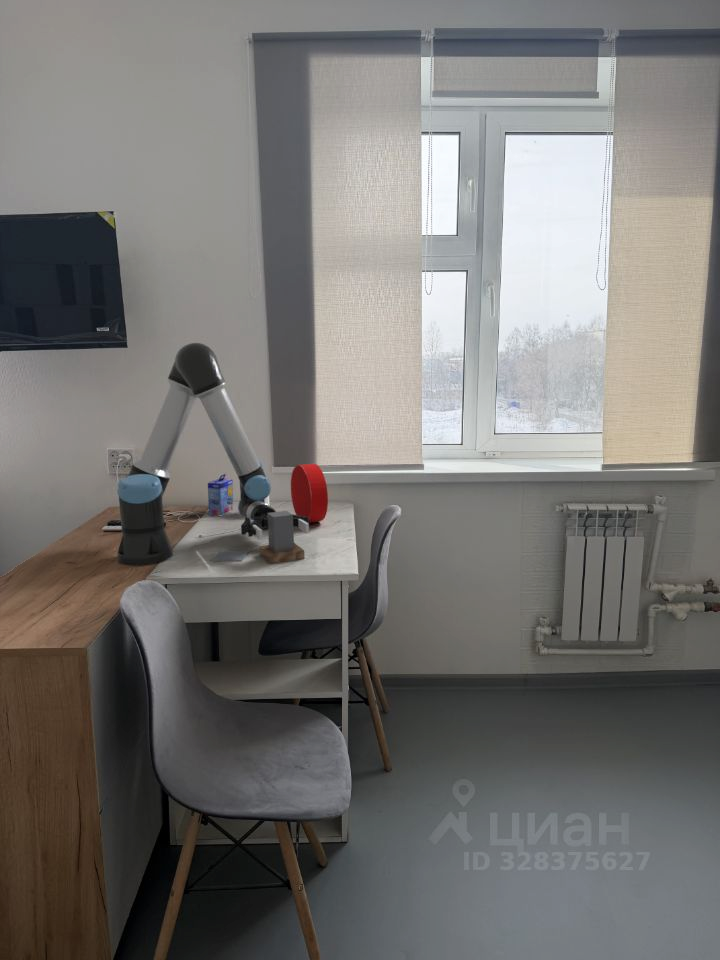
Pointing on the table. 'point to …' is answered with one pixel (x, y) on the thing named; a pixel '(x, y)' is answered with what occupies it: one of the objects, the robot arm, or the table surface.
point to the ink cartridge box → (220, 496)
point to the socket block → (281, 554)
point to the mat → (230, 556)
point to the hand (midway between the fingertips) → (284, 531)
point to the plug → (280, 531)
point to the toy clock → (309, 492)
